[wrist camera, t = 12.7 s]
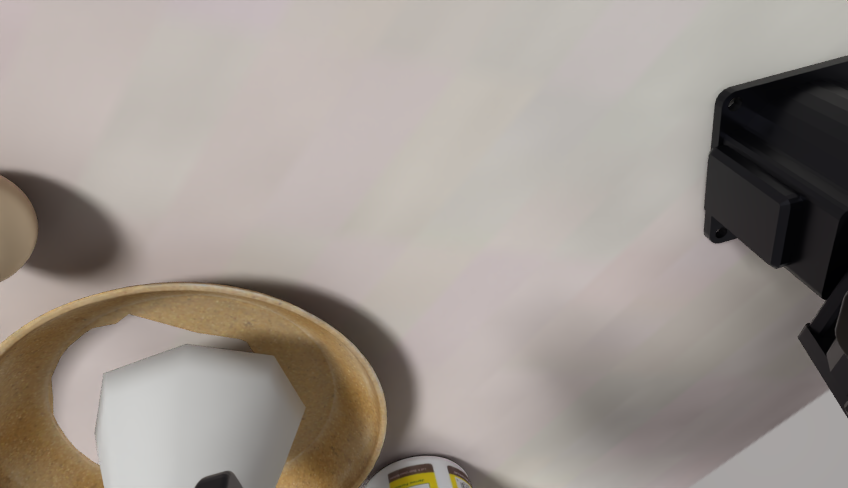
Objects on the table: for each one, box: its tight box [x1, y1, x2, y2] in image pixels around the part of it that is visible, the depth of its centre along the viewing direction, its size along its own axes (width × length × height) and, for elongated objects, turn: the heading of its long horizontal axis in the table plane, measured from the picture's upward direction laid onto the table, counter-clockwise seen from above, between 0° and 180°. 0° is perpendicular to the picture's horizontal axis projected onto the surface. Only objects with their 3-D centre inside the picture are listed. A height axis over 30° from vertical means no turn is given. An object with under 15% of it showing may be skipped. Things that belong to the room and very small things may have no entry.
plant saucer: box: [0, 282, 387, 488], centre depth 24 cm, size 15×15×3 cm
